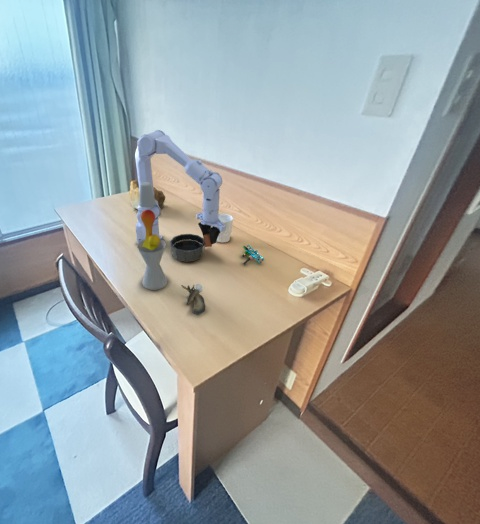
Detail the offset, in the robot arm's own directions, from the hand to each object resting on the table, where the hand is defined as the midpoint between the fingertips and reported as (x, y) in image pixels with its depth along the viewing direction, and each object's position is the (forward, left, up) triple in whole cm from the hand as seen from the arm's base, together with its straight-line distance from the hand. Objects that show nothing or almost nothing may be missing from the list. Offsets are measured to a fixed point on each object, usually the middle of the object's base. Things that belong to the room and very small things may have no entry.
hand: (209, 241), depth 109 cm
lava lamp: (-17, -21, -6) cm, 28 cm away
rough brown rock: (-36, +41, -6) cm, 55 cm away
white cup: (+4, +13, -6) cm, 15 cm away
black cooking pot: (-7, -2, -5) cm, 9 cm away
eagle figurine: (-2, -30, -6) cm, 31 cm away
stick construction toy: (+15, -2, -6) cm, 16 cm away
